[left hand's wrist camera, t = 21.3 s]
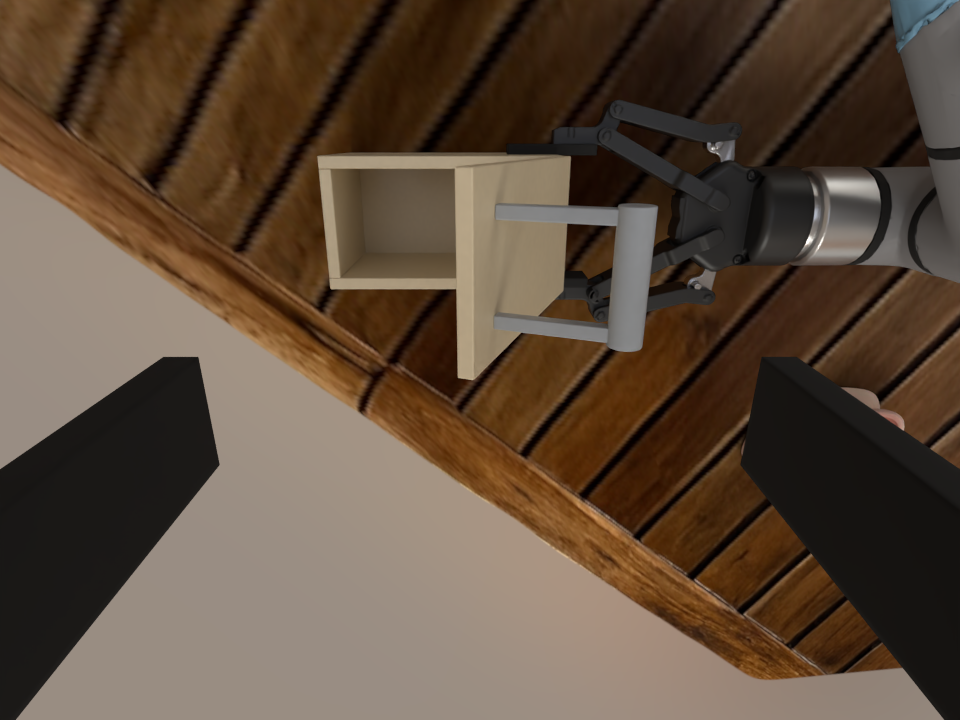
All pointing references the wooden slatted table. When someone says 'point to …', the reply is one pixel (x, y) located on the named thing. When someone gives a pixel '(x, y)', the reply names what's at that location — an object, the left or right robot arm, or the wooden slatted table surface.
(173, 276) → the wooden slatted table surface
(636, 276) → the lid
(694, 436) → the wooden slatted table surface
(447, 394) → the wooden slatted table surface
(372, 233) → the chest
